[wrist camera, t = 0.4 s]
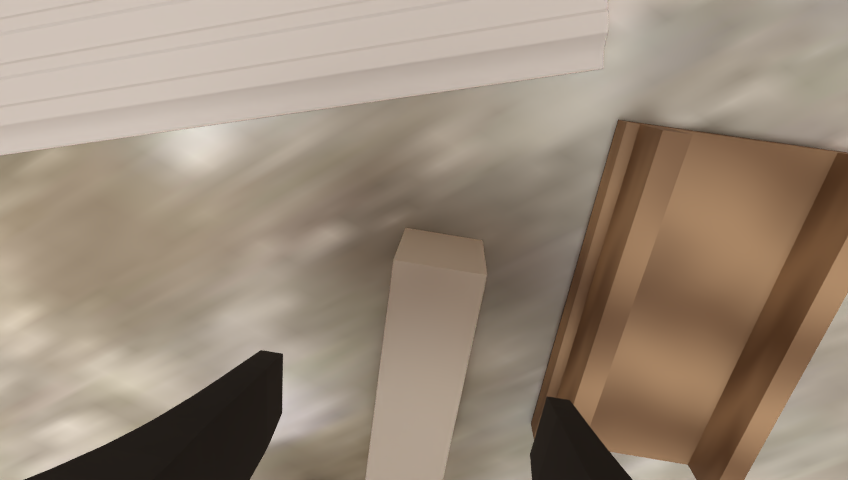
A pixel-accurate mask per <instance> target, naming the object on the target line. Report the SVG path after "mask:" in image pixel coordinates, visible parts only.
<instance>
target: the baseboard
mask: <svg viewBox="0 0 848 480" xmlns="http://www.w3.org/2000/svg"><path fill="white" fill-rule="evenodd" d="M608 25H609V11H608V0H0V155H7V154H14V153H21V152H27V151H34V150H41V149H48V148H55V147H62V146H69V145H76V144H83V143H90V142H97V141H104V140H111V139H118V138H125V137H132V136H139V135H146V134H153V133H160V132H167V131H174V130H181V129H188V128H195V127H202V126H209V125H216V124H223V123H229V122H236V121H243V120H250V119H257V118H264V117H271V116H278V115H285V114H292V113H299V112H306V111H313V110H320V109H327V108H334V107H341V106H348V105H355V104H362V103H369V102H376V101H383V100H390V99H397V98H404V97H411V96H418V95H425V94H431V93H438V92H445V91H452V90H459V89H466V88H473V87H480V86H487V85H494V84H501V83H508V82H515V81H522V80H529V79H536V78H543V77H550V76H557V75H564V74H571V73H578V72H585V71H592V70H599V69H603V56H604V47H605V42H606V38H607V35H608Z"/></svg>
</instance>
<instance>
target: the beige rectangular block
mask: <svg viewBox="0 0 848 480" xmlns="http://www.w3.org/2000/svg"><path fill="white" fill-rule="evenodd" d="M486 279H487V269H486V262H485V254H484V247H483V240H478V239H472V238H466V237H460V236H453V235H447V234H441V233H435V232H429V231H423V230H417V229H411V228H405V230H404V233H403V236H402V238H401V241H400V244H399V246H398V249H397V252H396V254H395V257H394V260H393V267H392V275H391V283H390V291H389V299H388V306H387V314H386V322H385V330H384V338H383V346H382V354H381V361H380V369H379V377H378V385H377V393H376V401H375V408H374V416H373V424H372V432H371V440H370V448H369V455H368V463H367V471H366V479H365V480H443V476H444V472H445V467H446V463H447V458H448V453H449V449H450V444H451V440H452V435H453V430H454V426H455V421H456V417H457V412H458V407H459V403H460V398H461V394H462V389H463V385H464V380H465V375H466V371H467V366H468V362H469V357H470V352H471V348H472V343H473V339H474V334H475V329H476V325H477V320H478V316H479V311H480V306H481V302H482V297H483V293H484V288H485V284H486Z"/></svg>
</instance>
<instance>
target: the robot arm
mask: <svg viewBox="0 0 848 480" xmlns="http://www.w3.org/2000/svg"><path fill="white" fill-rule="evenodd" d="M282 376H283V354H281V353H275V352H269V351H262V350H261V351H259V352H258V353H256V354H255V355H253V356H252V357H250V358H249V359H247V360H246V361H244V362H243V363H241V364H240V365H238V366H237V367H236V368H234V369H233V370H231V371H230V372H228V373H227V374H225V375H224V376H222V377H221V378H219V379H218V380H216V381H215V382H213V383H212V384H210V385H209V386H207V387H206V388H204V389H203V390H201V391H200V392H198V393H197V394H195V395H194V396H192V397H190V398H189V399H187V400H185V401H184V402H182V403H180V404H179V405H177V406H175V407H174V408H172V409H170V410H169V411H167V412H165V413H164V414H162V415H160V416H159V417H157V418H155V419H154V420H152V421H150V422H148V423H146V424H145V425H143V426H141V427H139V428H137V429H135V430H133V431H131V432H129V433H127V434H125V435H124V436H122V437H120V438H118V439H116V440H114V441H112V442H110V443H108V444H106V445H103V446H101V447H99V448H97V449H95V450H93V451H90V452H88V453H86V454H84V455H81V456H79V457H77V458H75V459H72V460H70V461H68V462H66V463H63V464H61V465H59V466H57V467H54V468H52V469H50V470H47V471H45V472H42V473H40V474H37V475H35V476H32V477H30V478H27V479H25V480H250V478H251V476H252V474H253V473H254V471H255V469H256V467H257V466H258V464H259V462H260V460H261V459H262V457H263V455H264V453H265V451H266V449H267V447H268V445H269V443H270V441H271V438H272V436H273V434H274V431H275V429H276V426H277V424H278V422H279V419H280V417H281V414H282ZM530 458H531V471H532V480H632V479H631V477H630V476H629V475H628V474H627V473H626V471H625V470H624V469H623V468H622V467H621V465H620V464H619V463H618V462H617V460H616V459H615V458H614V457H613V456H612V454H611V453H610V452H609V451H608V449H607V448H606V447H605V445H604V444H603V443H602V442H601V440H600V439H599V438H598V436H597V435H596V434H595V432H594V431H593V430H592V429H591V427H590V426H589V425H588V423H587V422H586V421H585V419H584V418H583V417H582V415H581V414H580V413H579V411H578V410H577V409H576V407H575V406H574V405H573V404H572V402H571V401H570V400H567V399H560V398H554V397H548V396H547V397H546V401H545V404H544V408H543V411H542V415H541V418H540V422H539V425H538V429H537V432H536V436H535V439H534V443H533V446H532V450H531V453H530Z"/></svg>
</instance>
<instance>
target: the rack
mask: <svg viewBox="0 0 848 480" xmlns="http://www.w3.org/2000/svg"><path fill="white" fill-rule="evenodd" d="M847 293H848V153H846V152H839V151H832V150H825V149H818V148H811V147H804V146H797V145H790V144H783V143H776V142H769V141H762V140H755V139H748V138H741V137H734V136H727V135H720V134H713V133H706V132H699V131H692V130H685V129H678V128H671V127H664V126H657V125H650V124H643V123H636V122H629V121H622V120H618V123H617V126H616V130H615V133H614V137H613V140H612V144H611V147H610V151H609V154H608V158H607V161H606V165H605V168H604V172H603V175H602V179H601V182H600V186H599V189H598V193H597V196H596V200H595V203H594V207H593V210H592V214H591V217H590V221H589V224H588V228H587V231H586V234H585V238H584V241H583V245H582V248H581V252H580V255H579V259H578V262H577V266H576V269H575V273H574V276H573V280H572V283H571V287H570V290H569V294H568V297H567V301H566V304H565V308H564V311H563V315H562V318H561V322H560V325H559V329H558V332H557V336H556V339H555V342H554V346H553V349H552V353H551V356H550V360H549V363H548V367H547V370H546V374H545V377H544V381H543V384H542V388H541V391H540V395H539V398H538V402H537V405H536V409H535V412H534V416H533V419H532V423H531V426H532V432H533V437H534V439H535V436H536V432H537V429H538V425H539V422H540V418H541V415H542V411H543V408H544V404H545V401H546V397H547V396H548V397H554V398H560V399H567V400H570V401H571V402H572V404H573V405H574V406H575V407H576V409H577V410H578V411H579V413H580V414H581V415H582V417H583V418H584V419H585V421H586V422H587V423H588V425H589V426H590V427H591V429H592V430H593V431H594V432H595V434H596V435H597V436H598V438H599V439H600V440H601V442H602V443H603V444H604V445H605V447H606V448H607V449H608V451H610V452H616V453H622V454H628V455H634V456H640V457H646V458H651V459H657V460H663V461H669V462H675V463H681V464H687V465H688V466H689V467H690V469H691V471H692V473H693V474H694V476H695V478H696V479H697V480H744V479H745V477H746V475H747V473H748V472H749V470H750V468H751V466H752V464H753V463H754V461H755V459H756V457H757V455H758V454H759V452H760V450H761V448H762V446H763V445H764V443H765V441H766V439H767V437H768V436H769V434H770V432H771V430H772V428H773V427H774V425H775V423H776V421H777V419H778V417H779V416H780V414H781V412H782V410H783V408H784V407H785V405H786V403H787V401H788V399H789V398H790V396H791V394H792V392H793V390H794V389H795V387H796V385H797V383H798V381H799V380H800V378H801V376H802V374H803V372H804V371H805V369H806V367H807V365H808V363H809V362H810V360H811V358H812V356H813V354H814V353H815V351H816V349H817V347H818V345H819V343H820V342H821V340H822V338H823V336H824V334H825V333H826V331H827V329H828V327H829V325H830V324H831V322H832V320H833V318H834V316H835V315H836V313H837V311H838V309H839V307H840V306H841V304H842V302H843V300H844V298H845V297H846V295H847Z"/></svg>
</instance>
